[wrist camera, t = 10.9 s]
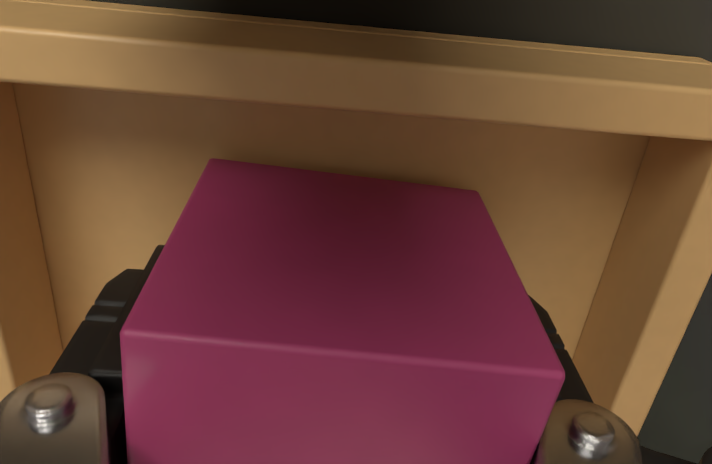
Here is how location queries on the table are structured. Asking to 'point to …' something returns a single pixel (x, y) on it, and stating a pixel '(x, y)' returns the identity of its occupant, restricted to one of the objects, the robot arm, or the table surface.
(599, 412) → the robot arm
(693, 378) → the table surface
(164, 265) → the pink block
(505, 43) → the tray
